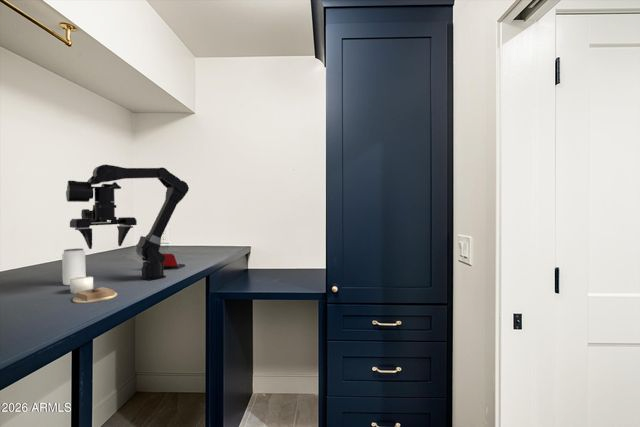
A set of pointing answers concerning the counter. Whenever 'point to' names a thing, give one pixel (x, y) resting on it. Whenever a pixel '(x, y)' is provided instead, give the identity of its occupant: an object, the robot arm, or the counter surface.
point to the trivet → (93, 300)
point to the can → (73, 264)
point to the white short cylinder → (81, 284)
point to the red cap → (171, 262)
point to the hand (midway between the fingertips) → (105, 247)
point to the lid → (95, 293)
